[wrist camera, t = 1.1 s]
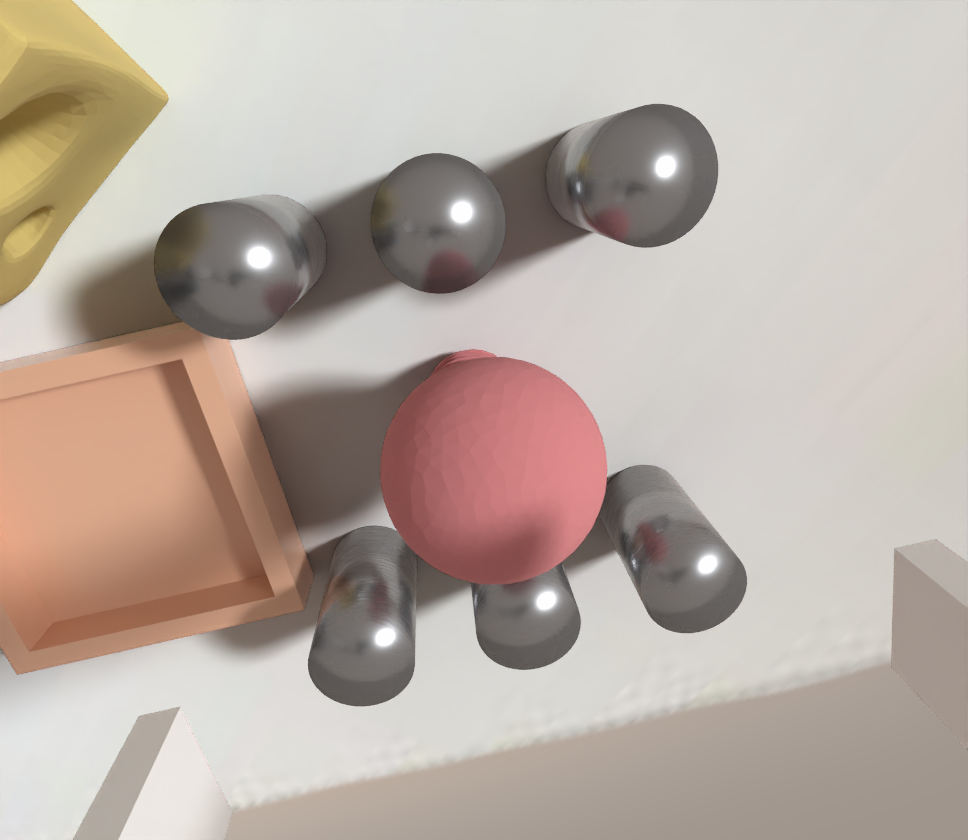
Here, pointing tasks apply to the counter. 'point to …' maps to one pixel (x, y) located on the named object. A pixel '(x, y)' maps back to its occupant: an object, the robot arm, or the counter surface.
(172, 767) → the robot arm
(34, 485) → the dish
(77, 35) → the cheese
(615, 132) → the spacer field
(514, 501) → the light bulb
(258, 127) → the counter surface
